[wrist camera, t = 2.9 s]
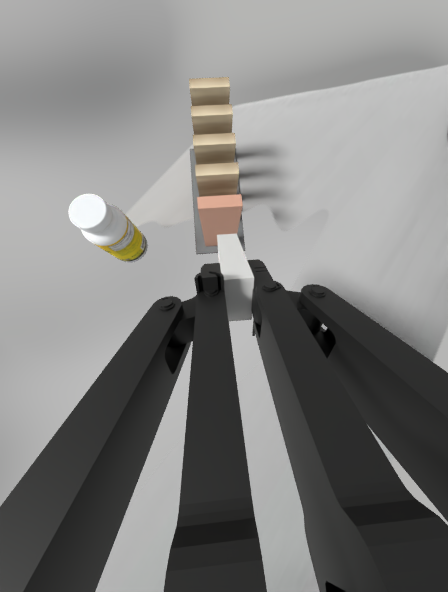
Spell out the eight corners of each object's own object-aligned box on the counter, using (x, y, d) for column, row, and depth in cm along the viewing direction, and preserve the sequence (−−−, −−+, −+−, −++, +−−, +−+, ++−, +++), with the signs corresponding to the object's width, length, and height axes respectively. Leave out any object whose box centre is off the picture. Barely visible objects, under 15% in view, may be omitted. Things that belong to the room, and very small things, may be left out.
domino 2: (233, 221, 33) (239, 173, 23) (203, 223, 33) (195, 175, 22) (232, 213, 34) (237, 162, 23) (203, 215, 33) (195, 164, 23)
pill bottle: (108, 242, 33) (52, 203, 22) (137, 225, 33) (97, 178, 22) (125, 269, 32) (75, 243, 21) (154, 251, 33) (121, 216, 22)
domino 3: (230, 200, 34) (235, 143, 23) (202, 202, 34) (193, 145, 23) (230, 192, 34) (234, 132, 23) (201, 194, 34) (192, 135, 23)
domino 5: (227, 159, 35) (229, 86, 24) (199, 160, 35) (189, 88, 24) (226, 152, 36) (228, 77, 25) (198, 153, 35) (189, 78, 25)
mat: (244, 250, 33) (245, 250, 33) (196, 254, 33) (196, 253, 32) (234, 147, 36) (234, 146, 36) (190, 150, 36) (189, 148, 36)
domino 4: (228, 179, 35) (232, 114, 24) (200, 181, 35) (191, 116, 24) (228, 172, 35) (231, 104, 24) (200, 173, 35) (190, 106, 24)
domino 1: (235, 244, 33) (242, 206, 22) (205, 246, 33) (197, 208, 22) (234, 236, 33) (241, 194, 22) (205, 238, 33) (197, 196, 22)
